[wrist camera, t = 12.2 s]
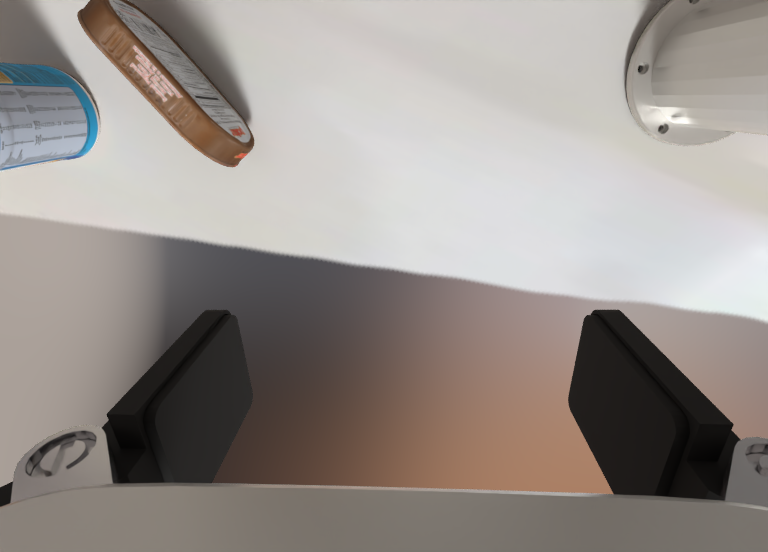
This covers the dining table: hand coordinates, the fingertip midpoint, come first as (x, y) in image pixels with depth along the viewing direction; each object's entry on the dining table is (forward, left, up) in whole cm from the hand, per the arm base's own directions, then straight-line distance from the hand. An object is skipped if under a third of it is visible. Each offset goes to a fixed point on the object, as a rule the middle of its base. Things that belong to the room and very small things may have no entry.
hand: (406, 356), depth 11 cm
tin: (+19, -8, -31) cm, 37 cm away
